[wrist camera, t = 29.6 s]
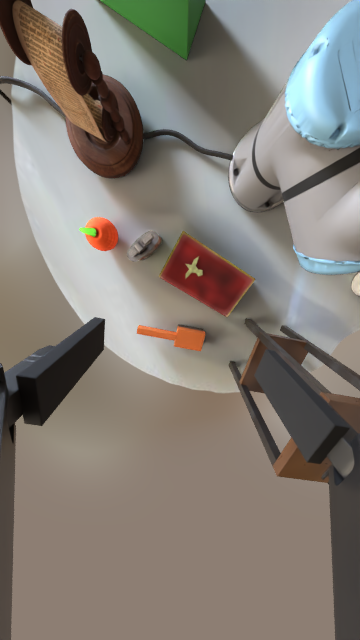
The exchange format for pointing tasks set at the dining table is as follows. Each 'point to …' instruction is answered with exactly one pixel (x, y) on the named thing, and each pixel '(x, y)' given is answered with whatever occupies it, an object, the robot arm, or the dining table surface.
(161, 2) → the green cereal box
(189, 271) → the hardcover book
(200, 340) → the brush
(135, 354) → the dining table surface
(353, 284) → the pill bottle
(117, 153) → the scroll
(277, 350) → the metal plant stand
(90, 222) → the clementine
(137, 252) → the lighter
